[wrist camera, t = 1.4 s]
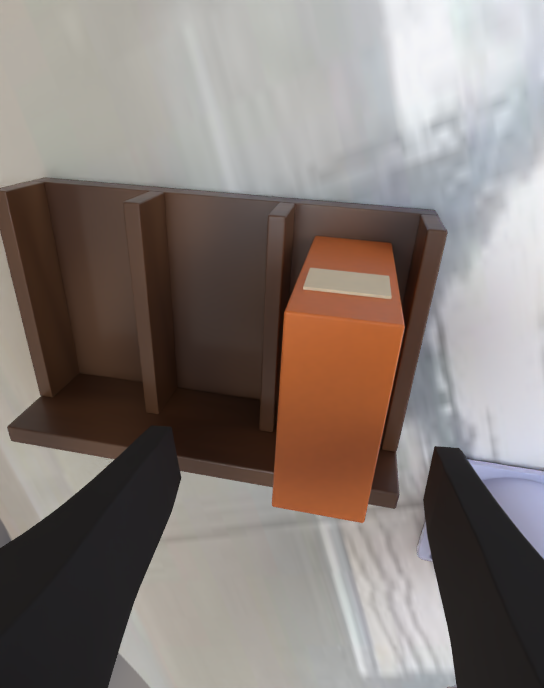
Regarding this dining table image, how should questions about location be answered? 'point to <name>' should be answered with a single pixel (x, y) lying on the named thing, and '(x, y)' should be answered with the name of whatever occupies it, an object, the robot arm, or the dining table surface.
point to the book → (336, 377)
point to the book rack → (187, 315)
